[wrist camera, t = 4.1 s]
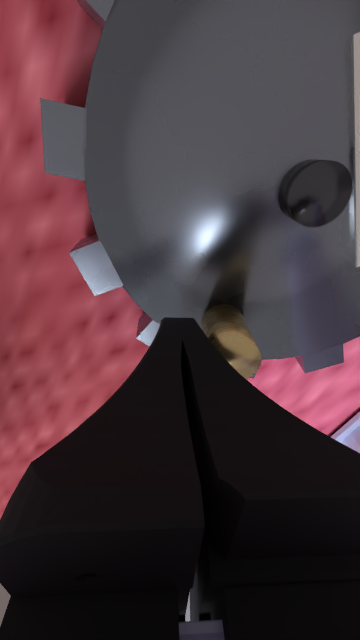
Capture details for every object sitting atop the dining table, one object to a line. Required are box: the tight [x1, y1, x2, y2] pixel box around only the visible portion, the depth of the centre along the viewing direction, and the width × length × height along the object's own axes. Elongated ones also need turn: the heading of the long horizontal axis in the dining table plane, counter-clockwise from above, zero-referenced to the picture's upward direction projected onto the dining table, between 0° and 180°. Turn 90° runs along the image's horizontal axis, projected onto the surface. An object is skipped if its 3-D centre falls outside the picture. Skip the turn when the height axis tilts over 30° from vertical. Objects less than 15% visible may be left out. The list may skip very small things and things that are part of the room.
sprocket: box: [40, 0, 360, 379], centre depth 9 cm, size 16×16×4 cm
